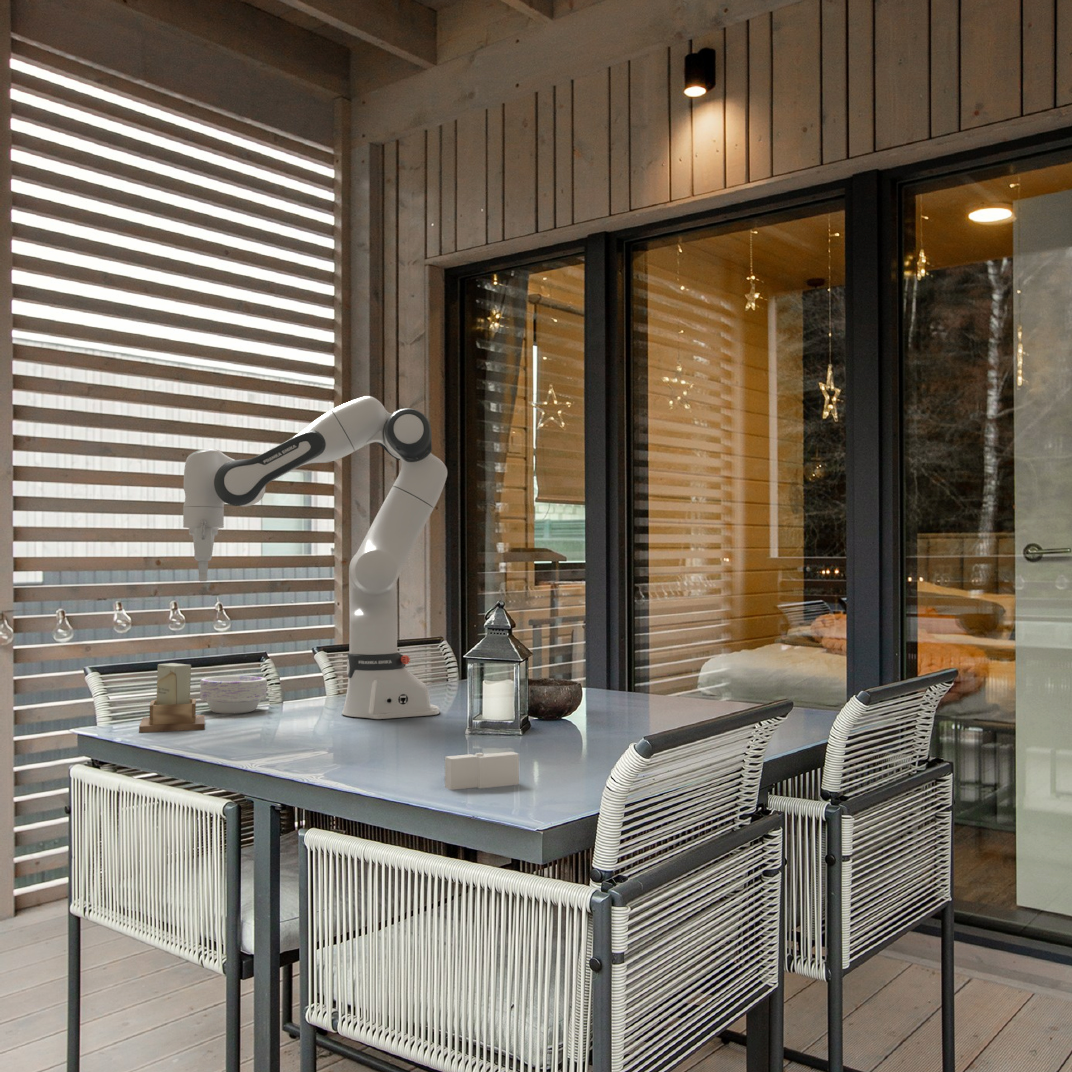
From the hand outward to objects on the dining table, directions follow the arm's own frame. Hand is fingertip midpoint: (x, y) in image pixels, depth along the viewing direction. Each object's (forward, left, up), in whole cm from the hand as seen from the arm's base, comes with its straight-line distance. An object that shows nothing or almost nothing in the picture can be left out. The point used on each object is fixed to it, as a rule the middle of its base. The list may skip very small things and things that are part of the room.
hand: (203, 580), depth 241 cm
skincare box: (+6, +11, -30) cm, 33 cm away
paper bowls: (-7, -8, -31) cm, 33 cm away
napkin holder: (-43, +87, -32) cm, 102 cm away
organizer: (+6, +11, -31) cm, 34 cm away
